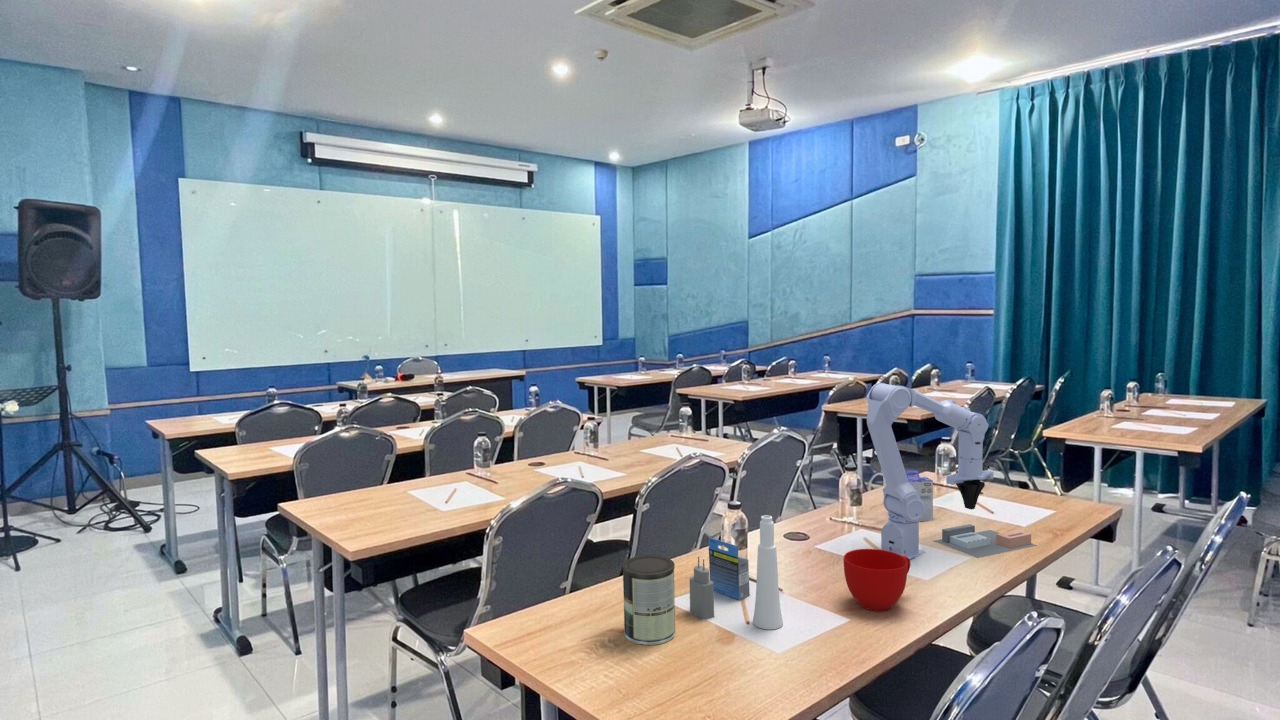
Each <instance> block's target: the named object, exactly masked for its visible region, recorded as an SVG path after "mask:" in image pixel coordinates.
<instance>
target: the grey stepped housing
mask: <svg viewBox="0 0 1280 720" xmlns="http://www.w3.org/2000/svg"><path fill="white" fill-rule="evenodd" d="M975 530H976V527H975V525H974V524H964V525H959V526H954V527H948V528H943V529H942V530H941V539H942V541H943V542H946V543H948V542H950V543H953V544H956V545H958V546H961V547H964V548H966V549H970V548H975V547H980V546H985V545H990V538H988V537H985V536H982V535H979V534H976V531H975Z"/></svg>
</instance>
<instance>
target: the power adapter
mask: <svg viewBox="0 0 1280 720" xmlns="http://www.w3.org/2000/svg"><path fill="white" fill-rule="evenodd" d="M714 592H715V591H714V582H712V581H710V570H709V569H708V568H706V567H705V559H704V558H703V559H702V565H700V556H697V565H694V567H693V576H690V577H689V611H691V612H692V613H691V612H690V613H691V614H693V615H694V614H695V615H694V616H696V617H698V618H699V619H700V620H703V619H704V621H705V620H708V619H709V620H710V619H712V617H713V618H714V617H715V594H714Z"/></svg>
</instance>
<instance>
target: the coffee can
mask: <svg viewBox="0 0 1280 720" xmlns="http://www.w3.org/2000/svg"><path fill="white" fill-rule="evenodd" d="M675 564H676V563H675V562H674V560H672V559H670V558H668V557H665V556H662V555H655V554H654V555H653V554H652V555H637V556H634V557H631V558H628V559H626V560H625V561H623V563H622V565H621V568H622V582H623V584H622V585H623V586H622V587H623V618H624V619H623V620H624V621H623V624H624V627H623V628H624V630H623V631H624V632H623V635H624V638H625V639H626V638H627V639H628V640H627V639H626V640H627V641H628V642H631V641H632V642H631V643H633V642H634V643H633V644H636V643H637V645H640V644H643V645H642V646H656V645H655V644H658V645H662V644H661V643H663V644H666V643H668V642H670V641H671V640H673V638H675V636H676V614H675V612H676V607H675V603H676V602H675V601H676V600H675V599H676V598H675V566H676V565H675Z"/></svg>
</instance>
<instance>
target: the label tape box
mask: <svg viewBox="0 0 1280 720" xmlns="http://www.w3.org/2000/svg"><path fill="white" fill-rule="evenodd" d="M720 547H724V548H725V549H723V548H720ZM726 549H727V550H726ZM708 560H709V562H708V565H709V567H708V568H709V569H708V570H709V580H710V581H712V582H714V592H715V591H716V592H715V593H718V592H719V593H718V594H721V593H722V594H721V595H724V594H725V596H727V597H731V598H734V599H737V600H739V601H741V600H743V599H745V598H747V597H749V596H750V593H751V592H750V571H749V570H750V568H749V566H750V565H749V559H748V558H745V557H742V556H739V545H735V544H733V543H732V544H731V543H729V542H725V541H722V540H720V539H716V538H713V537H710V536H709V540H708Z"/></svg>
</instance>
